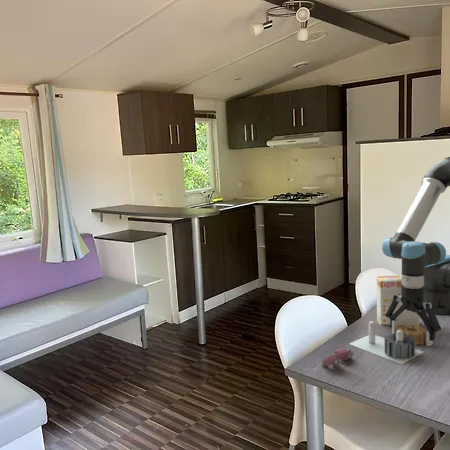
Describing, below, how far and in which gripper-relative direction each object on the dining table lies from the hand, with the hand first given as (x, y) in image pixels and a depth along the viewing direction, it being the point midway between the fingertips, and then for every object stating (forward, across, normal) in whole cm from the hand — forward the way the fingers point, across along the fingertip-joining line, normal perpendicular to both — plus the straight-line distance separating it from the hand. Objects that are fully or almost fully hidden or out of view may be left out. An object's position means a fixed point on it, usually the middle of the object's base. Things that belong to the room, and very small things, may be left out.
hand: (411, 342), depth 165 cm
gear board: (0, -2, -13) cm, 13 cm away
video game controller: (+1, -7, -32) cm, 33 cm away
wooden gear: (0, 0, 0) cm, 0 cm away
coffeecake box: (0, -13, +11) cm, 17 cm away
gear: (-1, +4, -13) cm, 13 cm away
